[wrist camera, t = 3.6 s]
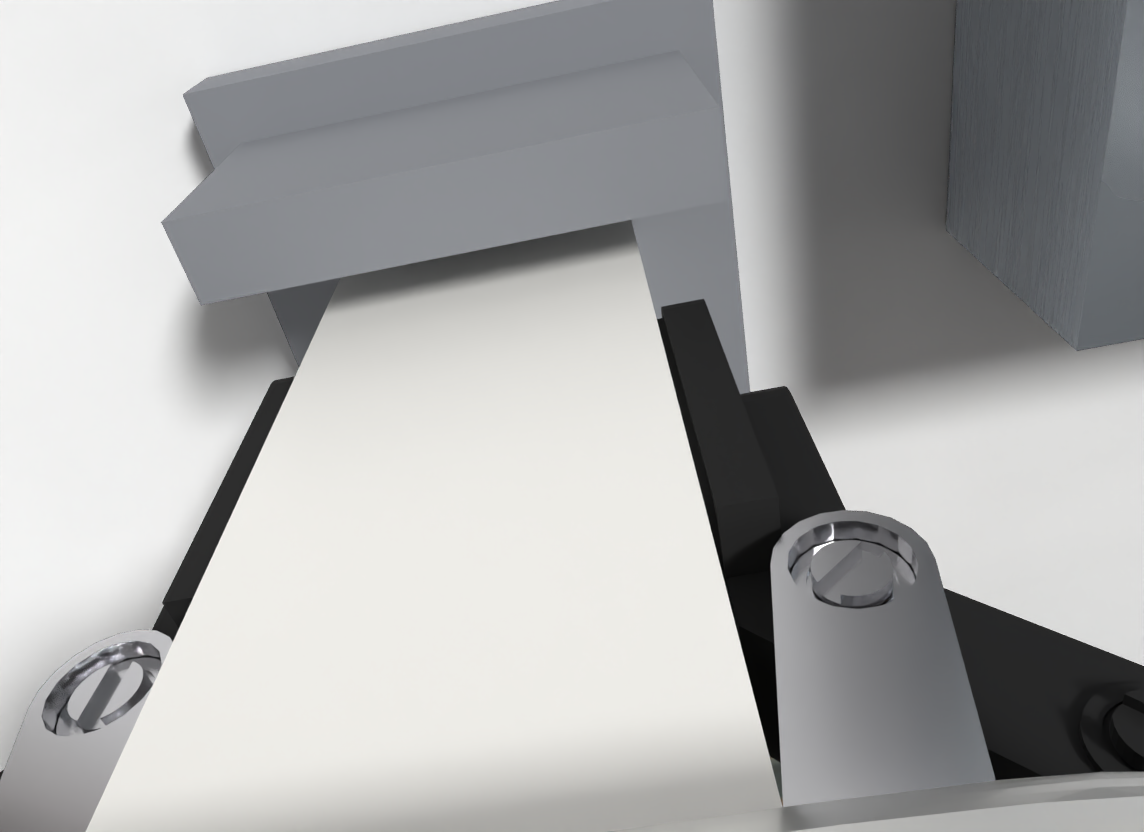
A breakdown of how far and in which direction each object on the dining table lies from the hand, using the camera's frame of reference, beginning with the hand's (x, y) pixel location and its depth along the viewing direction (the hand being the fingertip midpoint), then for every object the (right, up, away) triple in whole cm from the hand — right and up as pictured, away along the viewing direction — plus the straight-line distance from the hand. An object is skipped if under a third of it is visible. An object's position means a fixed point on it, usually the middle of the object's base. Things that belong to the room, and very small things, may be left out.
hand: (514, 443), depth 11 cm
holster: (0, +2, +3) cm, 4 cm away
